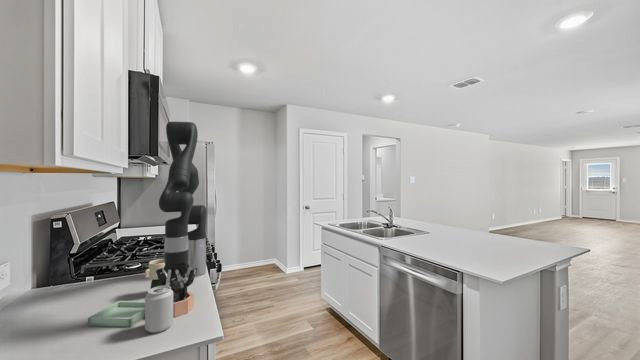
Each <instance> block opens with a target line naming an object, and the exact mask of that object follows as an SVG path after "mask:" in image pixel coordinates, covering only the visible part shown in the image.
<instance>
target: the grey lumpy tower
mask: <svg viewBox="0 0 640 360" xmlns="http://www.w3.org/2000/svg"><path fill="white" fill-rule="evenodd" d="M180 288H181V286H180V282H178V279H177V278H175V279H174V280H173V281H172V289H171V290H172V291H173V303H175V302H179V301H182V300H185V299H186V297H184V298H183V299H181V298H180Z"/></svg>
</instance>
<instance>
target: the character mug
mask: <svg viewBox="0 0 640 360" xmlns="http://www.w3.org/2000/svg"><path fill="white" fill-rule="evenodd" d="M164 266H165V263H164V258H159V259H154V260H150V261H149V262H148V268H147V269H145V272H144V274H145V275H144V277H145V278H146V279H149V280H151V283H150V287H149V290H150V289H152V288H154V287H158V286H161V285H160V282H159V279H158V276H157V273H156V270H158V269H159V268H164ZM165 274H166V277H167V273H166V272H165Z"/></svg>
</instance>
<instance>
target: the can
mask: <svg viewBox="0 0 640 360" xmlns="http://www.w3.org/2000/svg"><path fill="white" fill-rule="evenodd" d="M144 301H145V317H144V330H145V331H147V332H148V333H151V334H156V333H161V332H164V331H166V330H168V329H170V327H171V326H172V325H173V324H174V318H173V291H172V290H171V287H170V286H158V287H154V288H152V289H150V288H149V289H148V290H147V293H146V295H145V297H144Z"/></svg>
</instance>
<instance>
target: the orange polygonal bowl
mask: <svg viewBox="0 0 640 360" xmlns="http://www.w3.org/2000/svg"><path fill="white" fill-rule="evenodd" d="M194 296H195V295H194V294H193V293H192V292H191V290H190V291H188V290H187V295H186V296H185V297H186V299H185V300H182V301H179V302H175V303H173V319H174V318H177V317H180V316H183V315H187V314H188V313H189V312H191V311H192V310H194V307H195V306H194Z"/></svg>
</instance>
